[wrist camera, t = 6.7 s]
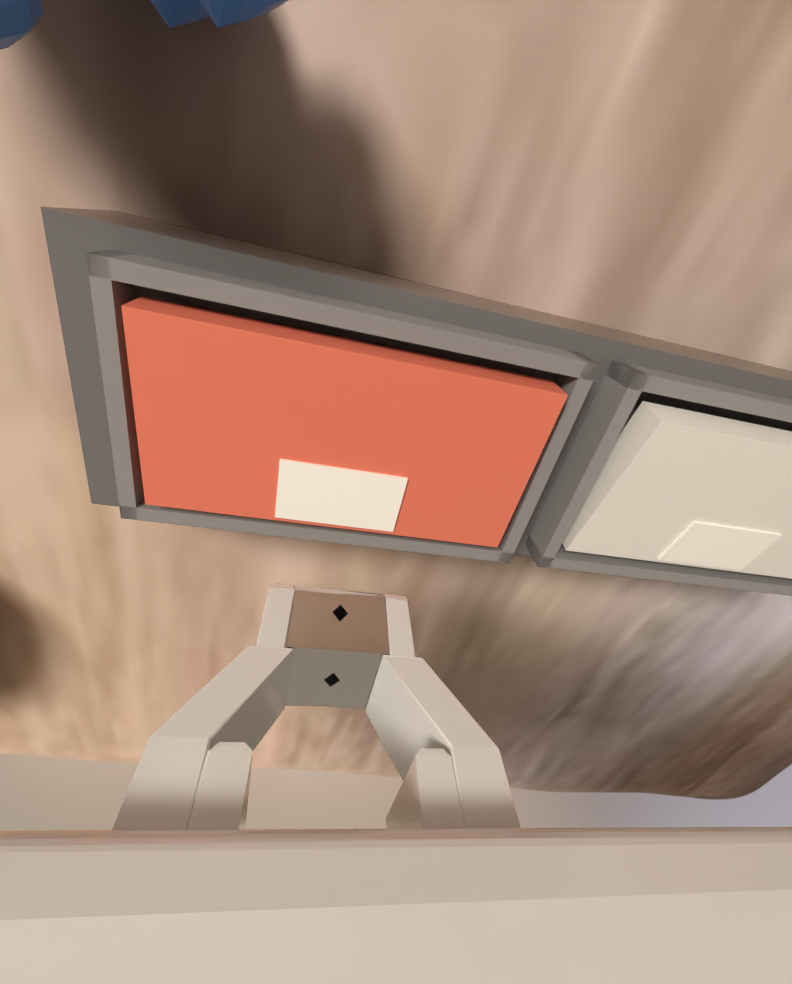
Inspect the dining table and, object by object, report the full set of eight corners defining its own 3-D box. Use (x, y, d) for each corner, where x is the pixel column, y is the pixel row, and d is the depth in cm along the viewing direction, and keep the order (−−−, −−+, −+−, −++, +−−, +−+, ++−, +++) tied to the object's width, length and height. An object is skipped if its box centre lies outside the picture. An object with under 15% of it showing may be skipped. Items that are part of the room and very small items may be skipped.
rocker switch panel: (115, 211, 14) (2, 204, 10) (956, 410, 21) (1123, 462, 17) (138, 452, 19) (69, 526, 14) (826, 550, 26) (928, 621, 21)
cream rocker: (642, 401, 14) (663, 422, 13) (921, 457, 16) (956, 480, 15) (555, 527, 18) (566, 552, 17) (790, 559, 20) (811, 582, 19)
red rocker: (141, 296, 11) (119, 306, 10) (552, 380, 14) (569, 396, 12) (159, 483, 15) (143, 505, 13) (488, 526, 17) (498, 549, 16)
